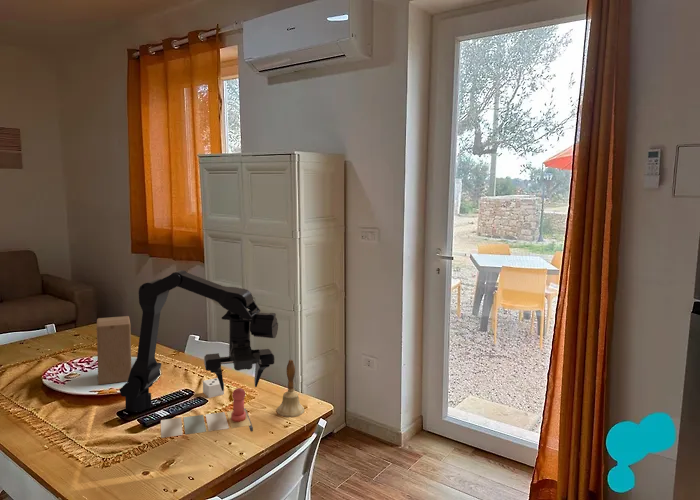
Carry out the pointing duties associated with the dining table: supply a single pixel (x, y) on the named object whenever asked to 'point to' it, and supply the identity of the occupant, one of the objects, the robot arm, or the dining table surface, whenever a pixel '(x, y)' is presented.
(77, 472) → the dining table surface
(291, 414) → the hand bell
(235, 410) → the pawn
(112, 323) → the wooden block
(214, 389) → the die
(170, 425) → the board
